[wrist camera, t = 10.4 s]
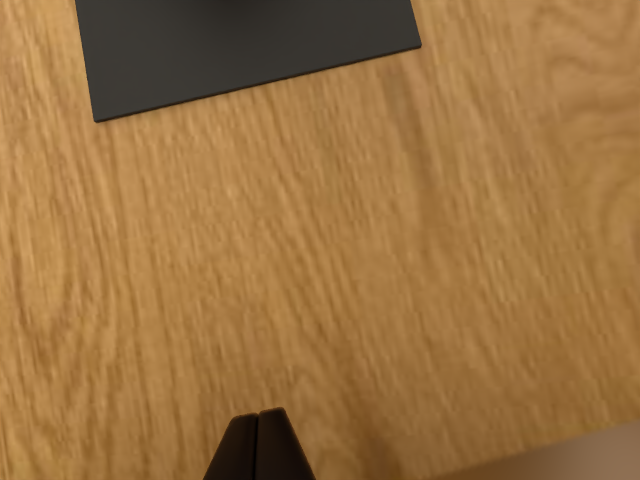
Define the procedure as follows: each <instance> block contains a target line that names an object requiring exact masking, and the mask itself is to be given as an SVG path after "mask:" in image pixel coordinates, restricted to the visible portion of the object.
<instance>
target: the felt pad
mask: <svg viewBox="0 0 640 480" xmlns="http://www.w3.org/2000/svg"><path fill="white" fill-rule="evenodd" d="M75 3H76V10H77V16H78V22H79V29H80V35H81V42H82V48H83V54H84V61H85V67H86V74H87V80H88V86H89V93H90V99H91V106H92V112H93V118H94V121H95V122H101V121H105V120H109V119H114V118H118V117H122V116H127V115H131V114H135V113H139V112H144V111H148V110H152V109H157V108H161V107H165V106H170V105H174V104H178V103H183V102H187V101H191V100H195V99H200V98H204V97H208V96H213V95H217V94H221V93H226V92H230V91H234V90H238V89H243V88H247V87H251V86H256V85H260V84H264V83H269V82H273V81H277V80H282V79H286V78H290V77H294V76H299V75H303V74H307V73H312V72H316V71H320V70H325V69H329V68H333V67H337V66H342V65H346V64H350V63H355V62H359V61H363V60H368V59H372V58H376V57H381V56H385V55H389V54H393V53H398V52H402V51H406V50H411V49H415V48H419V47H421V45H422V44H421V40H420V36H419V32H418V29H417V25H416V21H415V17H414V13H413V9H412V6H411V2H410V0H75Z"/></svg>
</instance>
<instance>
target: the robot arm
mask: <svg viewBox="0 0 640 480" xmlns="http://www.w3.org/2000/svg"><path fill="white" fill-rule="evenodd" d="M203 480H316V478H315V476H314V474H313V472H312V469H311V467H310V465H309V463H308V461H307V458H306V456H305V454H304V452H303V449H302V447H301V445H300V443H299V440H298V438H297V436H296V434H295V431H294V429H293V427H292V425H291V423H290V420H289V418H288V416H287V414H286V411H285V410H284V408H282V407H277V408H273V409H268V410H263V411H261V412H260V413H259V415H258V414H257V413H249V414H244V415H239V416H236V417H234V418H233V419H232V420H231V421H230V423H229V425H228V427H227V429H226V431H225V433H224V436H223V438H222V440H221V442H220V444H219V446H218V448H217V450H216V452H215V455H214V457H213V459H212V461H211V463H210V465H209V467H208V469H207V472H206V474H205V476H204V478H203Z"/></svg>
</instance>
